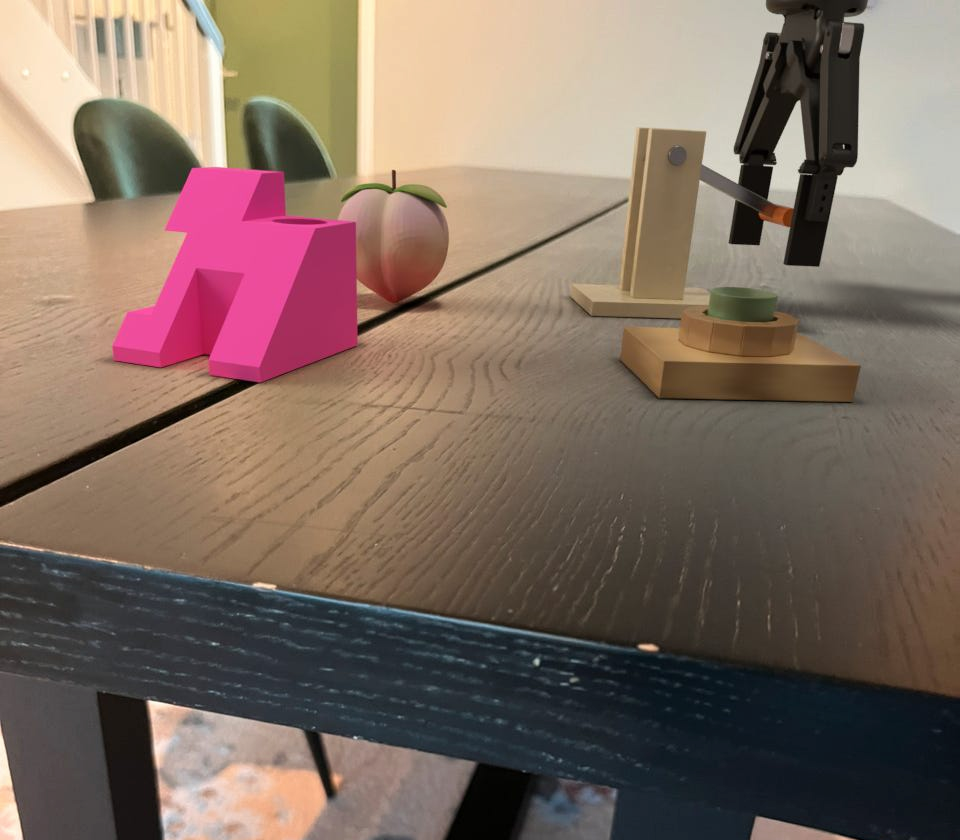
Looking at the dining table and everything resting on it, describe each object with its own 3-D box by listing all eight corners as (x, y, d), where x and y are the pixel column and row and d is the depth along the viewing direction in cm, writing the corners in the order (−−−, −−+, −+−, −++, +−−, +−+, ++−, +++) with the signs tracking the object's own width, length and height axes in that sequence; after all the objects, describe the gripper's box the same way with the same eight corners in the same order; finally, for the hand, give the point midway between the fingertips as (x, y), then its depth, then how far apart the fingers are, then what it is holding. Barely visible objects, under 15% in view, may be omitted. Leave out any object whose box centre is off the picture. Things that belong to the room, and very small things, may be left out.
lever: (766, 228, 85) (781, 201, 84) (790, 236, 80) (806, 207, 79) (637, 159, 81) (651, 130, 80) (654, 162, 76) (669, 131, 76)
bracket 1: (228, 327, 69) (215, 166, 64) (357, 345, 66) (355, 177, 61) (114, 360, 59) (89, 172, 54) (260, 382, 56) (247, 185, 51)
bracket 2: (699, 301, 89) (724, 131, 83) (732, 320, 81) (762, 134, 75) (570, 297, 88) (585, 124, 81) (591, 316, 80) (609, 126, 73)
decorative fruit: (461, 300, 84) (466, 171, 79) (434, 315, 77) (437, 175, 72) (358, 290, 86) (357, 164, 81) (322, 305, 79) (318, 167, 74)
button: (758, 316, 62) (763, 287, 62) (782, 329, 59) (787, 298, 58) (698, 314, 62) (702, 286, 61) (718, 327, 58) (723, 296, 58)
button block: (789, 363, 67) (801, 303, 65) (853, 402, 58) (868, 333, 57) (619, 359, 66) (626, 298, 64) (658, 398, 57) (668, 328, 55)
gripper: (724, -32, 84) (686, 235, 94) (849, -79, 62) (782, 274, 72) (807, -26, 85) (761, 238, 95) (959, -70, 63) (878, 278, 73)
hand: (770, 254), depth 83 cm, fingers open, 13 cm apart
